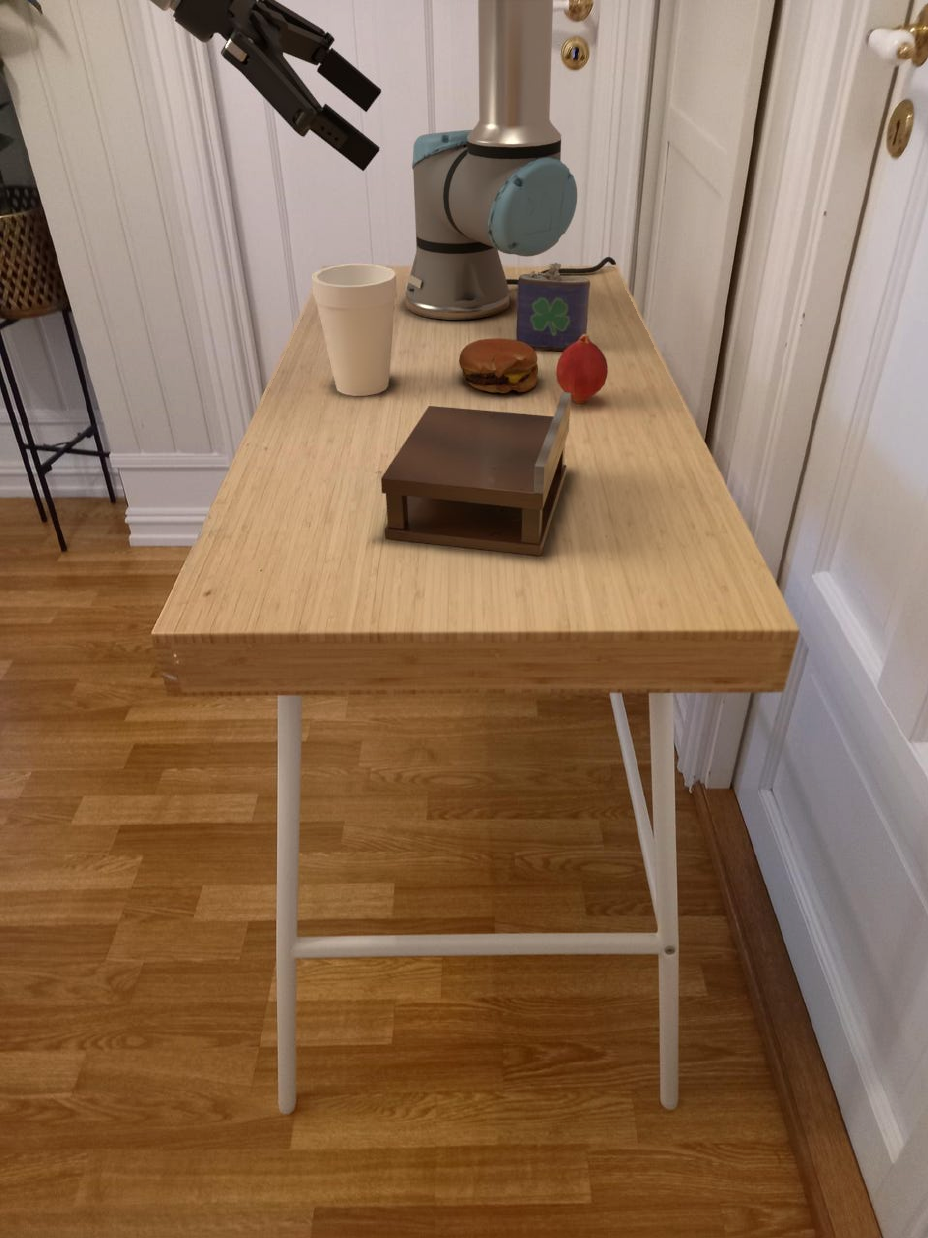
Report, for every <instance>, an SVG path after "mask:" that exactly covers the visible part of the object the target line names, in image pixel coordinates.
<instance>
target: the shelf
mask: <svg viewBox="0 0 928 1238" xmlns="http://www.w3.org/2000/svg"><path fill="white" fill-rule="evenodd" d="M571 402H572V398H571V393H567V392H564V391H563V392H562V394H561V396H560V399H559V401H558V404H557V406H556V409H555V412H554V415H542V414H530V413H529V414H528V413H517V412H506V411H496V410H495V411H493V410H481V409H469V408H461V407H460V408H458V407H446V406H434V405H428V407H427V408H426V410H425V411H424V413H423V414H422V416H421V417H420V419H419V420H418V421H417V423H416V425H415V426H414V428H413V429H412V431H411V432H410V433H409V435H408V437H406V440H405V441H404V443H403V444H402V445H401V447H400V449H399V450H398V452H397V453H396V455H395V456H394V458H393V459H392V460H391V462H390V464H389V466H388V467H387V468H386V470H385V471H384V473H383V474H382V476H381V478H380V483H381V493H382V494H384V495H385V505H386V518H387V519H386V521H387V524H386V526H385V527H384V530H383V531H384V539H387V540H394V541H405V542H413V543H421V544H422V543H423V544H431V545H441V546H448V547H449V546H450V547H457V548H467V549H475V550H484V551H493V552H502V553H511V554H519V555H520V554H521V555H527V556H528V555H529V556H536V557H537V556H538V557H540V556H541V555H542V551H543V549H544V546H545V542H546V540H547V537H548V533H549V530H550V526H551V523H552V520H553V516H554V513H555V510H556V507H557V504H558V501H559V498H560V495H561V492H562V489H563V485H564V483H565V478H566V475H567V467H568V466H567V464H565V456H566V441H567V438H568V435H569V433H570V419H571Z"/></svg>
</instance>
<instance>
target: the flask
mask: <svg viewBox="0 0 928 1238" xmlns="http://www.w3.org/2000/svg"><path fill="white" fill-rule="evenodd" d="M548 268H549V269H548V270H549V271H548V272H546V273H541V272H542V271H538V272H537V273H536V271H535V270H532V271H531V272H530V273H524V274H521V275H519V277H518V285H517V295H516V296H517V298H516V301H517V302H516V303H517V304H516V306H517V307H516V326H515V327H516V329H515V332H516V333H515V340H516V341H520V342H523V343H525V344H527V345H528V346H530V347H531V348H532V349H533V350H534V351H535V350H536V351H552V352H564V351H565V350H566V349H567V348H568V347H569V346H570V345H571V344H573V343H575V342H577V341H578V340H579V339H580V337H581V336H582V335H583V334H586V335H587V331H588V330H587V329H588V320H589V319H588V315H589V314H588V313H589V298H590V289H591V288H590V287H591V280H590V279H589V278H587V277H584V276H560V275H561V273H558V272H559V271H558V270H559V268H562V264H561V263H558V262H554V263H549V264H548ZM537 274H541V275H537Z"/></svg>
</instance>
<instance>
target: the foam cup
mask: <svg viewBox="0 0 928 1238" xmlns="http://www.w3.org/2000/svg"><path fill="white" fill-rule="evenodd" d="M311 284H312V285H311V287H312V296H313V299H314V301H315V303H316V305H317V311H318V315H319V320H320V323H321V328H322V333H323V337H324V341H325V346H326V350H327V355H328V358H329V362H330V363H329V364H330V367H331V373H332V377H333V381H334V383H335V387H336V391H337V392H339V393H341V394H343V395H347V396H352V397H353V396H354V397H366V396H372V395H377V394H379V393H380V394H381V393H382V392H384V391H386V390H387V388H389V386H390V385H389V384H390V383H389V381H390V372H391V358H392V346H393V335H394V334H393V331H394V320H395V319H394V318H395V308H396V307H395V306H396V298H397V296H398V287H397V286H398V285H397V274H396V272H395V271H394V269H393V268H391V267H388V266H384V265H382V264H381V265H380V264H371V263H346V264H345V263H344V264H337V265H331V266H326V267H324V268H321V269H318V270H316V271H315V272H313V274H312V275H311Z"/></svg>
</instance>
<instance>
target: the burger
mask: <svg viewBox="0 0 928 1238" xmlns="http://www.w3.org/2000/svg"><path fill="white" fill-rule="evenodd" d="M516 340H517V339H510V338H499V337H497V338H496V337H495V338H494V337H493V338H485V339H478V340H474V341H472V342H470V343H469V344H467V345H465V347H464V348H463V349H462V350H461V352H460V353H459V358H458V364H459V368H460V369H461V372H462V376H463V380H464V381H465V382H466V383H468V384H469V385H471V387H473V388H474V389H476V390H479V391H484V392H490V393H499V394H503V395H504V394H508V393H510V391H512V390H513V391H516V392H518V393H525V392H529V391H530V390H532V389H533V388H535V387H536V385H537V384H538V373H539V364H538V355H537V352H536V351H535V350H533V349H532V348H531V347H530V346H528V345H527V344H525V343H523V342H520V341H516Z"/></svg>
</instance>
